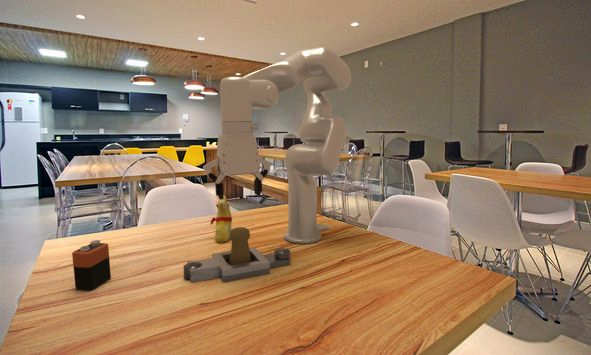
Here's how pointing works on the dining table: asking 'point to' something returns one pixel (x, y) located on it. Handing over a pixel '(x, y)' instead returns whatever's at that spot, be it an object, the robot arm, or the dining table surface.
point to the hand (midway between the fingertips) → (239, 196)
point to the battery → (91, 265)
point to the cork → (239, 246)
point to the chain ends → (235, 266)
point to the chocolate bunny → (223, 221)
